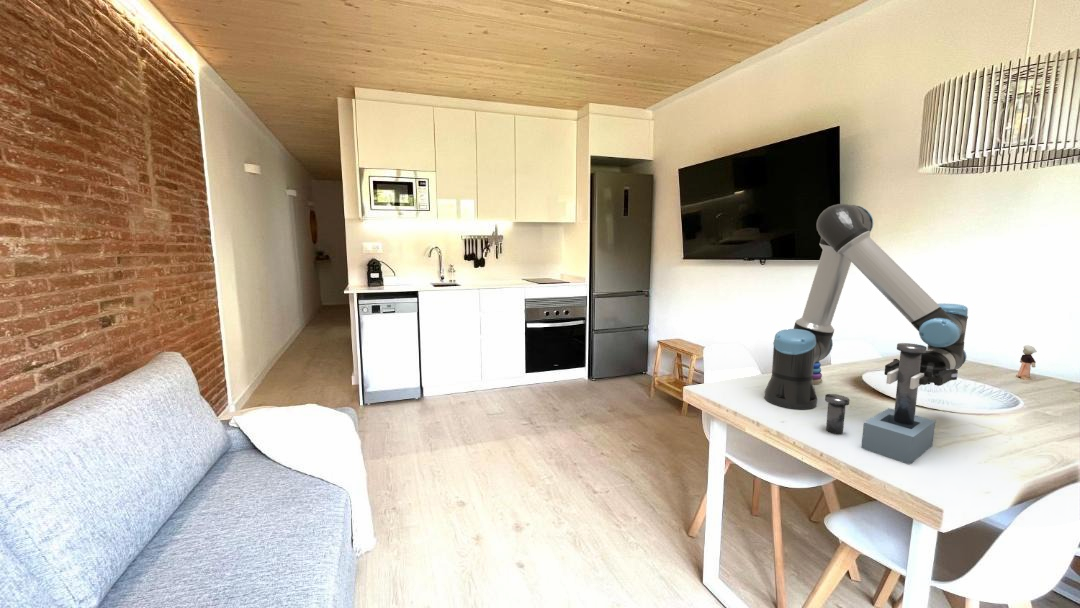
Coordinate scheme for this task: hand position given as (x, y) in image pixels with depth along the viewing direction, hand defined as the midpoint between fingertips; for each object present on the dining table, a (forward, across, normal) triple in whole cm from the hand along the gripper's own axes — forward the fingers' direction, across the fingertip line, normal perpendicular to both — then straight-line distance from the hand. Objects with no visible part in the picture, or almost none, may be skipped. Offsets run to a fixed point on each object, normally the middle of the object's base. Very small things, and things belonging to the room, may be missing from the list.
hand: (900, 380), depth 105 cm
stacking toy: (-41, +38, -19) cm, 59 cm away
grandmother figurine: (-108, -6, -20) cm, 110 cm away
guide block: (-5, +1, -19) cm, 20 cm away
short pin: (-2, +14, -19) cm, 24 cm away
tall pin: (-5, 0, -12) cm, 13 cm away
